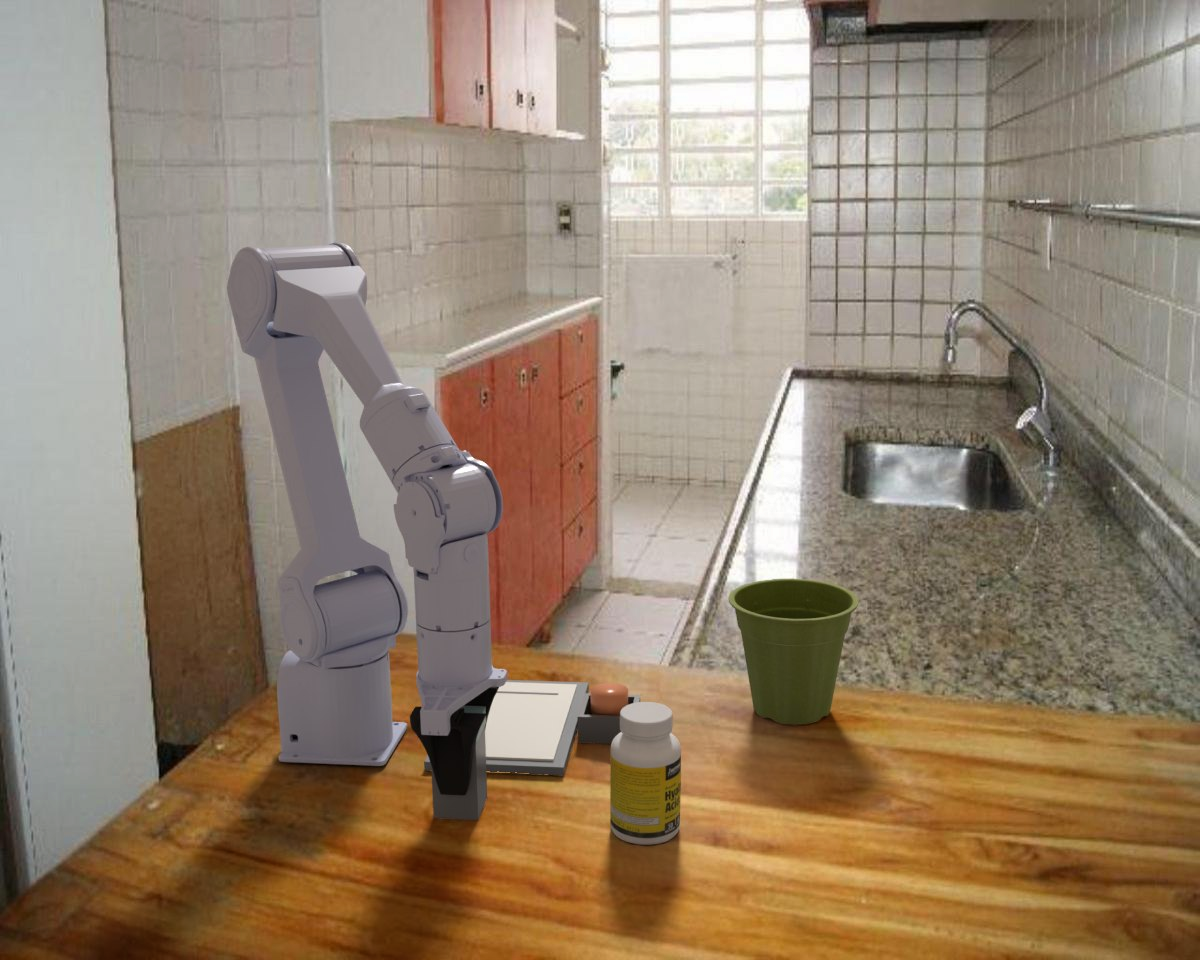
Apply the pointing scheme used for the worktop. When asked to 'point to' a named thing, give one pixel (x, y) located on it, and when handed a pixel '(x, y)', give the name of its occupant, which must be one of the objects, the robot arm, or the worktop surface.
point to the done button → (608, 699)
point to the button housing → (598, 723)
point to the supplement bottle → (645, 775)
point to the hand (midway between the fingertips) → (459, 780)
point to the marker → (477, 789)
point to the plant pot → (792, 644)
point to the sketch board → (532, 726)
